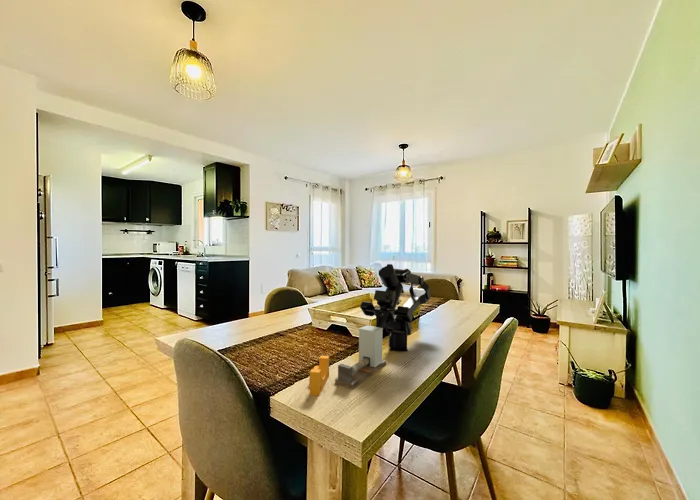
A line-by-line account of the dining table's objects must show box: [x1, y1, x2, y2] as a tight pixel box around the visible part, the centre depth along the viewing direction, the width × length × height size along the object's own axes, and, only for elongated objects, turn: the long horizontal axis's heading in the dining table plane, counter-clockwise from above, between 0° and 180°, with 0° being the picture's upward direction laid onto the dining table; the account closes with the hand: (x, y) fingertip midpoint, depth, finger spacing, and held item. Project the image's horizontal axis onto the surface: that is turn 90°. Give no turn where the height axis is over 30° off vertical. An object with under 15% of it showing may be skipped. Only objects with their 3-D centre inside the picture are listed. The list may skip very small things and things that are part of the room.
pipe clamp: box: [308, 355, 330, 397], centre depth 87 cm, size 12×4×6 cm, turn 171°
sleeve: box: [358, 324, 384, 367], centre depth 99 cm, size 5×6×11 cm
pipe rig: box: [334, 357, 387, 390], centre depth 95 cm, size 21×6×6 cm, turn 146°
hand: (377, 332), depth 102 cm, fingers closed
